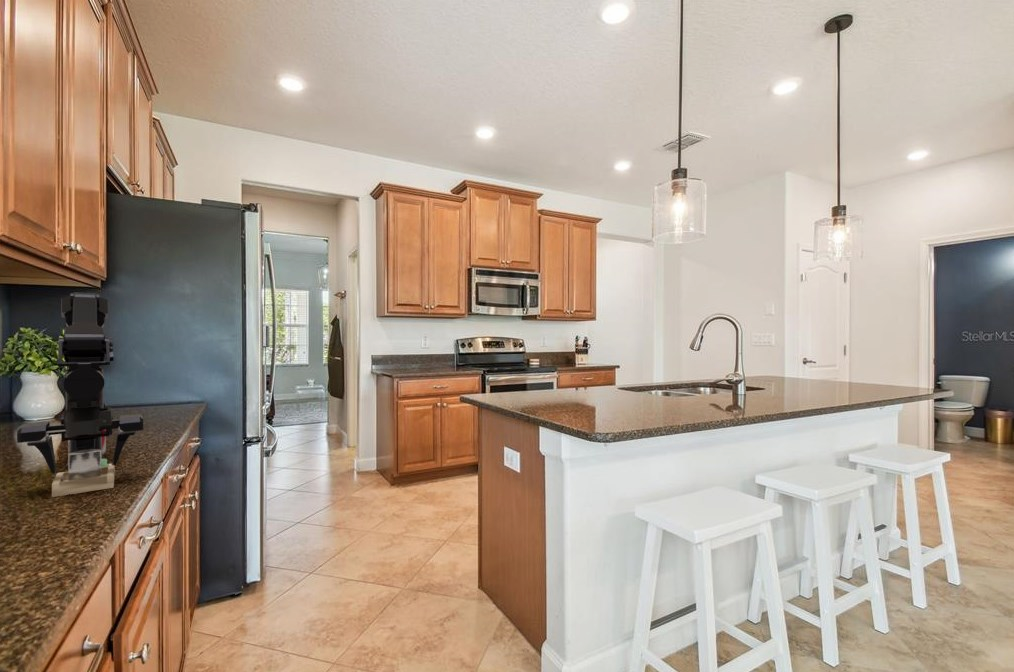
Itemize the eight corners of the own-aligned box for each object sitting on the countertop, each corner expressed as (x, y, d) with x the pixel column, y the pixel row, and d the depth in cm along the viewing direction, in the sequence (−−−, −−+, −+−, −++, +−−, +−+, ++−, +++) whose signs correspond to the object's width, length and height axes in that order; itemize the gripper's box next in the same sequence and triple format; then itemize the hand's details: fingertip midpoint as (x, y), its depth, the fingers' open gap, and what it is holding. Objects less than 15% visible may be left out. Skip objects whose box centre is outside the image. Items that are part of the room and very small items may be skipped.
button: (92, 473, 102) (92, 459, 102) (107, 471, 104) (107, 458, 104) (92, 476, 101) (92, 462, 101) (106, 474, 102) (106, 460, 102)
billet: (69, 480, 96) (69, 451, 95) (101, 475, 99) (101, 447, 99) (67, 487, 92) (67, 456, 92) (100, 482, 95) (100, 452, 95)
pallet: (57, 484, 96) (57, 472, 96) (114, 476, 102) (114, 465, 102) (51, 497, 89) (51, 484, 89) (113, 487, 95) (113, 475, 95)
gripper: (11, 402, 83) (11, 489, 83) (144, 393, 95) (144, 470, 95) (22, 395, 91) (22, 474, 92) (142, 388, 103) (142, 458, 103)
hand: (85, 469), depth 95 cm, fingers open, 9 cm apart
